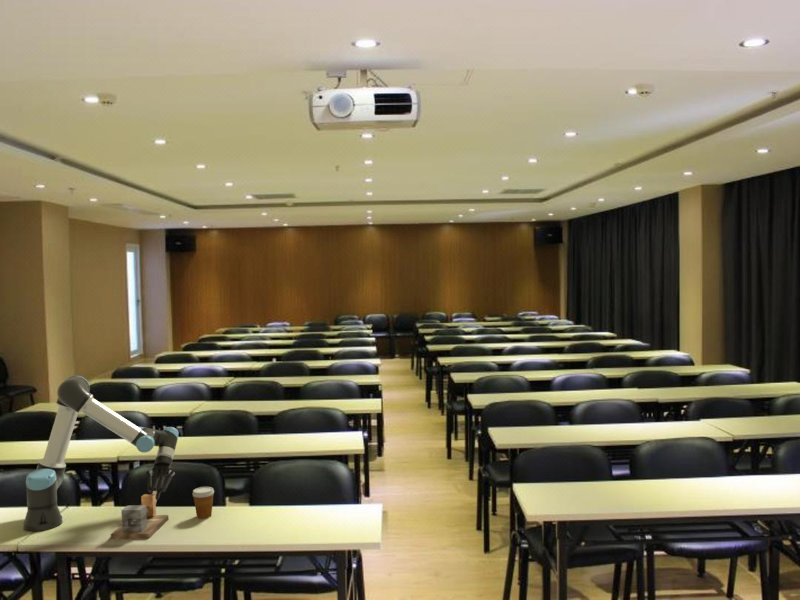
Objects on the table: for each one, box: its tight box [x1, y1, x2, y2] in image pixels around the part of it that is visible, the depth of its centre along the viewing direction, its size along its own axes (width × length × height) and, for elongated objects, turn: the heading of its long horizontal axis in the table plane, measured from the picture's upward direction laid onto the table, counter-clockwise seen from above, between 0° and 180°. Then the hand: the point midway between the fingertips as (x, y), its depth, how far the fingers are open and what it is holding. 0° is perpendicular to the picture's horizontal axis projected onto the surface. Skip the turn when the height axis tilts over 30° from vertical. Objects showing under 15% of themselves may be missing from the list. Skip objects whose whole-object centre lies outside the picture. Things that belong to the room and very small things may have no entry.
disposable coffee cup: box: [192, 486, 215, 520], centre depth 313 cm, size 10×10×12 cm
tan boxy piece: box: [140, 493, 157, 517], centre depth 303 cm, size 5×13×9 cm, turn 178°
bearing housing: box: [110, 504, 170, 540], centre depth 299 cm, size 16×22×11 cm
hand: (152, 505), depth 311 cm, fingers closed
